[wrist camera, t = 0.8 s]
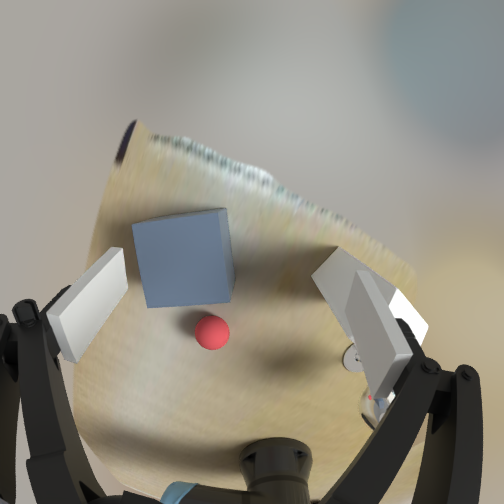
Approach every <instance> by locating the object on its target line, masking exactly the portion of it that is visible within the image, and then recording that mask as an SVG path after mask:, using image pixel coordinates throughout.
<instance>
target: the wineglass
mask: <svg viewBox="0 0 504 504" xmlns="http://www.w3.org/2000/svg"><path fill="white" fill-rule="evenodd" d="M343 363H344V366H345V367H346V368H347V369H348V370H349V371H352V372H362V371H364V369H363V366H362V362H361V359H360V356H359V353H358V350H357V347H356V345H355V344H353V345H351V346H350V347H349V348H348V349H347V351H346V352H345V354H344V358H343ZM394 397H395V394H394V391H393V390H392V391H391V393H390V395H389V396H388V398H379V399H372V396H371V393H370V389H369V386H368V385H367V386H366V387H365V388H364V390H363V391H362V393H361V395H360V398H359V401H358V412H359V415H360V417H361V419H362V421H363V422H364V423H365V424H366V426H367V427H368V428H369V429H370V430H371V431H372V432H373V431H374V430H375V428H376V427H377V425H378V424H379V422H380V420H381V419H382V417H383V415H384V414H385V412H386V409H387V408H388V406H389V405H390V403H391V402H392V400H393V399H394Z"/></svg>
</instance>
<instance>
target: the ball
mask: <svg viewBox="0 0 504 504" xmlns="http://www.w3.org/2000/svg"><path fill="white" fill-rule="evenodd" d="M195 337H196V340H197V342H198V343H199V344H200V345H201V346H202V347H204V348H206V349H209V350H216V349H219V348H221V347H223V346H224V345H225V344H226V343H227V341H228V339H229V327H228V325H227V323H226V322H225V321H224V320H223V319H221V318H220V317H217V316H206V317H204V318H202V319H201V320H200V321H199V322H198V323H197V325H196V328H195Z"/></svg>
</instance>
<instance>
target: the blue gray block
mask: <svg viewBox="0 0 504 504" xmlns="http://www.w3.org/2000/svg"><path fill="white" fill-rule="evenodd" d="M132 231H133V237H134V243H135V249H136V255H137V260H138V265H139V271H140V276H141V281H142V285H143V290H144V295H145V299H146V304H147V308H159V307H175V306H190V305H203V304H216V303H228V302H230V300H231V296H232V292H233V288H234V283H235V273H234V265H233V258H232V250H231V242H230V234H229V226H228V217H227V209H226V208H221V209H213V210H205V211H197V212H190V213H183V214H175V215H168V216H161V217H155V218H152V219H148V220H145V221H142V222H138V223H135V224H132Z"/></svg>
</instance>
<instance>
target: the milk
mask: <svg viewBox="0 0 504 504" xmlns="http://www.w3.org/2000/svg"><path fill="white" fill-rule="evenodd" d="M356 270H361V271H369V273H370V275H371V276H372V278H373V280H374V282H375V283H376V285H377V287H378V289H379V290H380V292H381V294H382V296H383V297H384V299H385V301H386V303H387V305H388V306H389V308H390V310H391V312H392V314H393V316H394V318H402V319H403V320H404V321H405V322H406V323H407V324H408V325H409V326H410V328H411V330H412V333H413V334H414V335H415V337H416V338H415V339H417V341H418V343H419V345H420V346H421V344H422V341H423V339H424V337H425V334H426V332H427V329H428V325H427V324H426V322H425V321H424V320H423V318H422V317H421V316H420V315H419V313H418V312H417V311H416V310H415V309H414V307H413V306H412V305H411V304H410V302H409V301H408V300H407V299H406V298H405V296H404V295H403V294H402V293H401V292H400V290H399V289H398V288H397V287H395V286H394V285H393V284H391V283H390V282H389V281H387V280H386V279H384V278H383V277H382V276H380V275H379V274H378V273H376V272H375V271H374V270H372V269H371V268H369V267H368V266H367V265H365V264H364V263H362V262H361V261H360V260H358V259H357V258H355V257H354V256H353V255H351V254H350V253H348V252H347V251H345V250H344V249H343V248H341V247H338V248H337V249H336V250H335V251H334V252H333V253H332V254H331V255H330V256H329V257H328V259H327V260H326V261H325V262H324V263H323V264H322V265H321V266H320V267H319V268H318V269H317V270H316V271H315V272H314V273H313V274H312V275H311V277H312V279H313V280H314V282H315V284H316V285H317V287H318V289H319V290H320V292H321V293H322V295H323V297H324V298H325V300H326V302H327V303H328V305H329V307H330V308H331V310H332V312H333V313H334V315H335V317H336V318H337V320H338V322H339V323H340V325H341V327H342V328H343V330H344V332H345V333H346V335H347V337H348V338H349V339H350V340H351V341H352V342H353V343H354V344H355V345H356V343H355V340H354V337H353V334H352V331H351V328H350V325H349V322H348V319H347V316H346V314H345V307H346V304H347V301H348V297H349V294H350V290H351V287H352V283H353V279H354V276H355V272H356Z"/></svg>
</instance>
